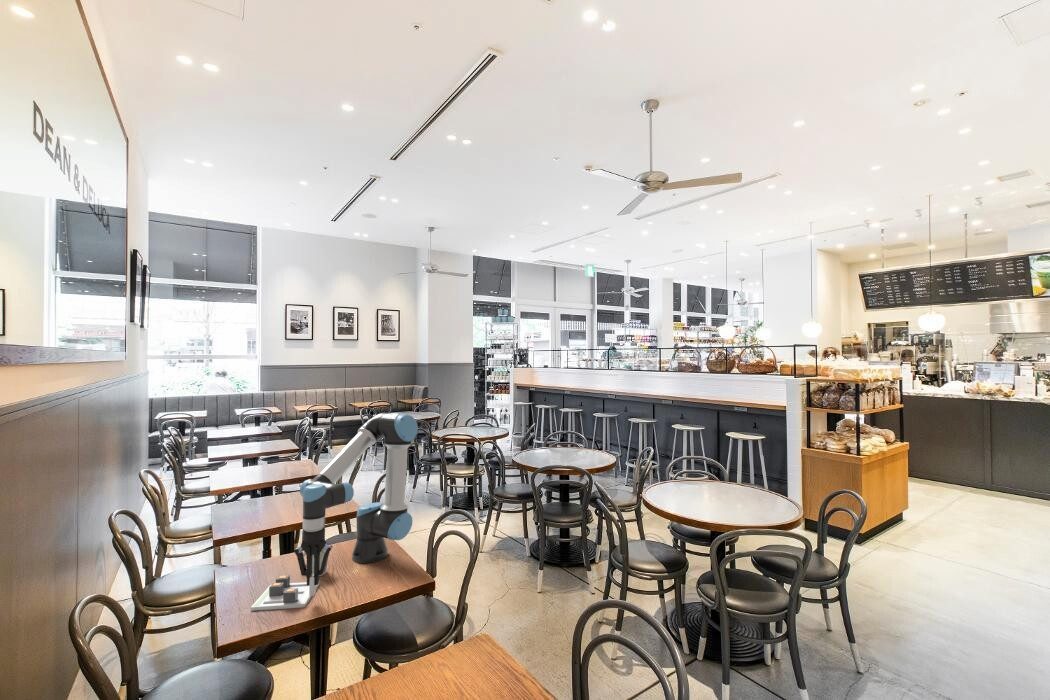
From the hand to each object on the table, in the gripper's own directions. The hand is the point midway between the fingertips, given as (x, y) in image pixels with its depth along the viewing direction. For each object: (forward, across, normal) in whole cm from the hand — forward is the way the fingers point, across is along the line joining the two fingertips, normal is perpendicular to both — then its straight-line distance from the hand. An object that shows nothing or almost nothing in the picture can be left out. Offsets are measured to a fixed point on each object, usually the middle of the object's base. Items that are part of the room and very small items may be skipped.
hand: (312, 593), depth 168 cm
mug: (+4, +7, -26) cm, 27 cm away
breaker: (+2, +8, 0) cm, 8 cm away
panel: (+3, +11, -6) cm, 13 cm away
